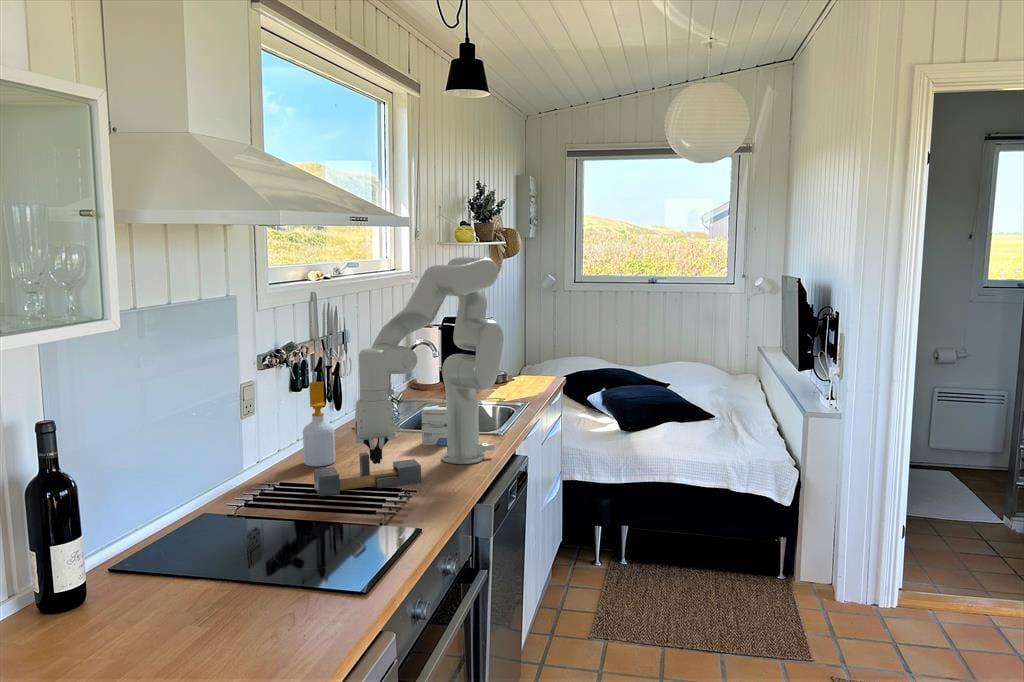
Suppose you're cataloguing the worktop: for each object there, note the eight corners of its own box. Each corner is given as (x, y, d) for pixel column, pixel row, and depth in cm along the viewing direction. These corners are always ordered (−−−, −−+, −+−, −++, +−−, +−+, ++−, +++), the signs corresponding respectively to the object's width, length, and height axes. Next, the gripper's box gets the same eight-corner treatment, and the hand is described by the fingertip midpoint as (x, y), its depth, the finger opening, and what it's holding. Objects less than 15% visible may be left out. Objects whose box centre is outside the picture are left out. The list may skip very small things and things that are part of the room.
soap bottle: (304, 468, 225) (300, 384, 222) (304, 459, 234) (300, 379, 230) (336, 465, 227) (332, 382, 224) (334, 457, 236) (331, 377, 233)
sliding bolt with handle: (396, 479, 213) (395, 448, 212) (399, 482, 210) (398, 451, 209) (337, 486, 207) (336, 455, 206) (340, 490, 204) (338, 458, 203)
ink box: (451, 441, 253) (450, 406, 251) (448, 446, 248) (447, 409, 246) (425, 441, 253) (424, 405, 252) (421, 445, 249) (421, 409, 247)
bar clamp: (414, 475, 217) (413, 457, 217) (421, 482, 210) (421, 464, 210) (314, 488, 207) (313, 469, 206) (319, 496, 200) (318, 477, 199)
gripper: (398, 390, 213) (399, 455, 215) (343, 395, 207) (345, 462, 209) (405, 395, 206) (407, 462, 208) (349, 400, 200) (351, 469, 202)
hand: (376, 462), depth 208 cm, fingers closed
